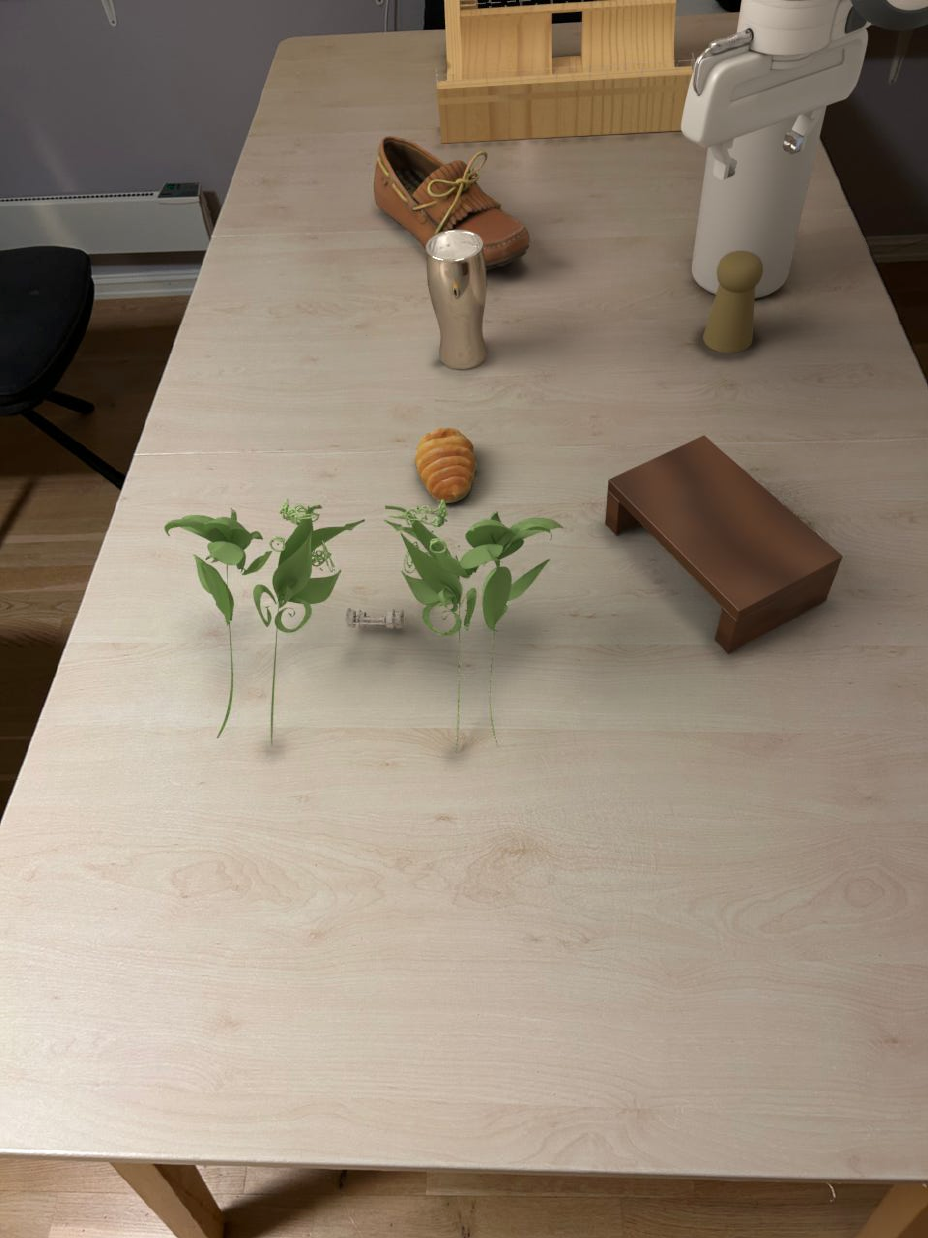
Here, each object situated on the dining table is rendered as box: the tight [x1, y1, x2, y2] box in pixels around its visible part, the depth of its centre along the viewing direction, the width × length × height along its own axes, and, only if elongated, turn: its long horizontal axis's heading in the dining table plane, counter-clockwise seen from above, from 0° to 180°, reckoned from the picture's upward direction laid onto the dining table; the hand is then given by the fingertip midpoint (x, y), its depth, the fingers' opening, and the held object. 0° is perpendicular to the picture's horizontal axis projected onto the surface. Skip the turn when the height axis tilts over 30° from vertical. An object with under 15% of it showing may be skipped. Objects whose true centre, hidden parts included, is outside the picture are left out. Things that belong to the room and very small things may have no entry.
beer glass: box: [425, 230, 488, 370], centre depth 112 cm, size 7×7×15 cm
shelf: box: [604, 435, 844, 655], centre depth 92 cm, size 12×20×6 cm, turn 29°
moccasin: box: [373, 135, 531, 270], centre depth 130 cm, size 31×12×12 cm, turn 26°
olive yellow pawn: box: [702, 251, 763, 354], centre depth 112 cm, size 6×6×11 cm
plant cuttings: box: [164, 498, 564, 753], centre depth 84 cm, size 35×17×22 cm
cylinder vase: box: [691, 106, 827, 299], centre depth 115 cm, size 12×12×25 cm
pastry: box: [414, 427, 477, 504], centre depth 103 cm, size 9×7×4 cm
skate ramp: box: [435, 0, 696, 144], centre depth 157 cm, size 40×35×16 cm
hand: (758, 163), depth 99 cm, fingers open, 8 cm apart
